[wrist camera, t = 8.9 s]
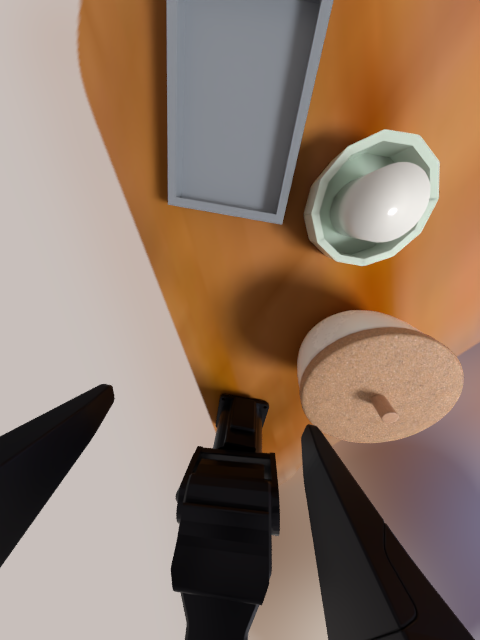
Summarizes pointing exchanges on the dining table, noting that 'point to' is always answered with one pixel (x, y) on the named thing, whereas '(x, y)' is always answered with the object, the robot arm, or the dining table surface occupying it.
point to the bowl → (353, 165)
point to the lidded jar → (375, 377)
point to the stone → (381, 203)
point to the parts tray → (239, 101)
